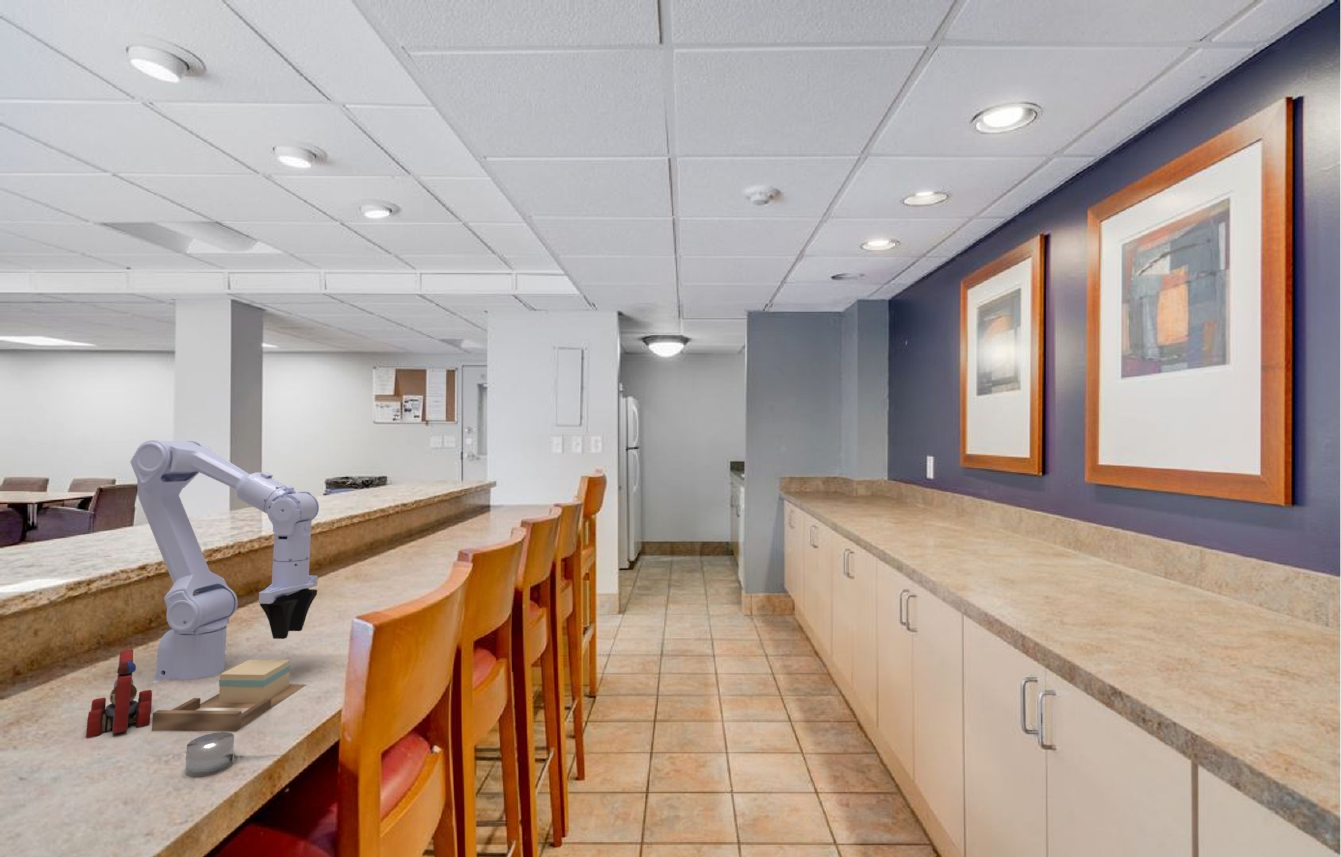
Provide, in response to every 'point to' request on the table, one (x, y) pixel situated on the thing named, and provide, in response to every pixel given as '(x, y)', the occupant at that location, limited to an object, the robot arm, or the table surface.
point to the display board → (216, 713)
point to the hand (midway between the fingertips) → (287, 634)
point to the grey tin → (209, 754)
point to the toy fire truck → (120, 703)
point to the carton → (254, 681)
